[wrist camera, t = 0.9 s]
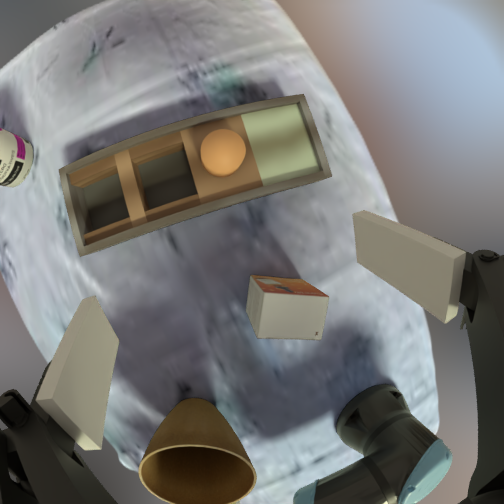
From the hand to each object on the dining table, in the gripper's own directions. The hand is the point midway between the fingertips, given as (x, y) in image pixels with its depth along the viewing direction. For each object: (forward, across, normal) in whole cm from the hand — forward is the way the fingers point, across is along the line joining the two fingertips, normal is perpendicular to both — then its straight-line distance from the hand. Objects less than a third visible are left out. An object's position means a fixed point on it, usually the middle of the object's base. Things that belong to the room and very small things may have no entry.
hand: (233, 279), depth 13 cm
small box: (+24, -6, +16) cm, 29 cm away
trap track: (+28, 0, -3) cm, 29 cm away
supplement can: (+33, +28, -15) cm, 45 cm away
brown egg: (+24, -4, -4) cm, 25 cm away
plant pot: (+20, +12, +32) cm, 39 cm away
